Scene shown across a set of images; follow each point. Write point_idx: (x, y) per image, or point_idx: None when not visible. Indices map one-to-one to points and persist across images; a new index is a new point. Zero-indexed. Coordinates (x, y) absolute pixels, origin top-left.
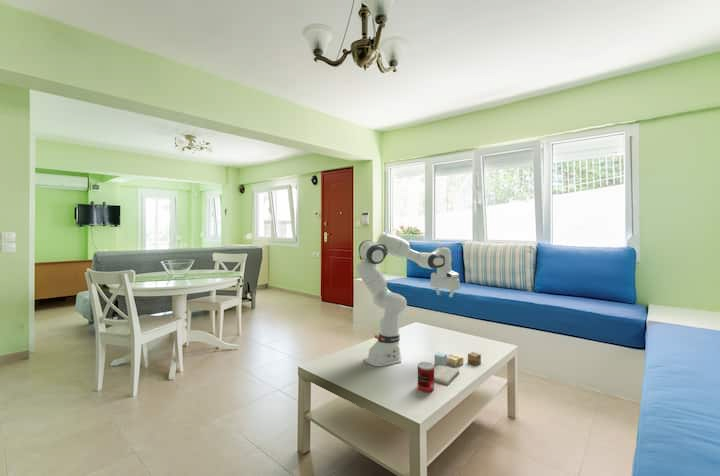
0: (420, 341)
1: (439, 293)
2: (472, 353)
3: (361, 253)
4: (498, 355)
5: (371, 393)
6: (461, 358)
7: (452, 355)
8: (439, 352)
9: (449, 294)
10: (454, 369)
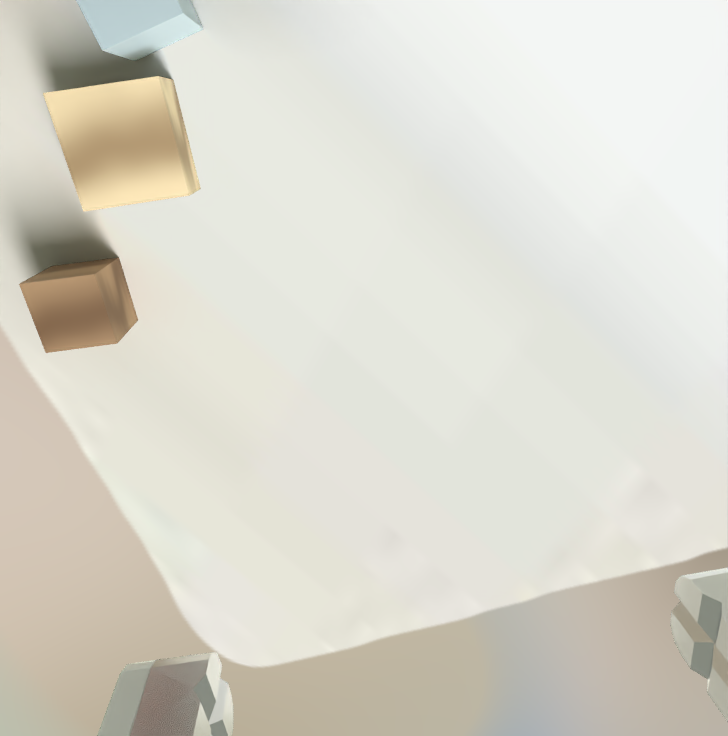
0: (650, 249)
1: (708, 648)
2: (87, 313)
3: None
4: (148, 517)
5: None
6: (76, 184)
7: (154, 158)
8: (171, 16)
9: (167, 733)
10: None
